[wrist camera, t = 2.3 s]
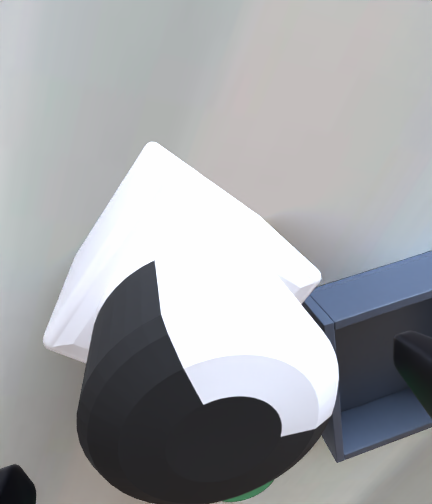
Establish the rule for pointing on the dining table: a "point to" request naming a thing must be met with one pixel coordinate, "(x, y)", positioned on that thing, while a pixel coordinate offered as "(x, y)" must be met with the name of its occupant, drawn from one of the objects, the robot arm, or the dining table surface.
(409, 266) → the blue-grey tray
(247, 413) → the medicine bottle
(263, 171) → the dining table surface
